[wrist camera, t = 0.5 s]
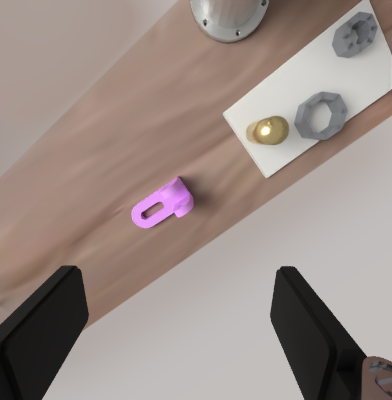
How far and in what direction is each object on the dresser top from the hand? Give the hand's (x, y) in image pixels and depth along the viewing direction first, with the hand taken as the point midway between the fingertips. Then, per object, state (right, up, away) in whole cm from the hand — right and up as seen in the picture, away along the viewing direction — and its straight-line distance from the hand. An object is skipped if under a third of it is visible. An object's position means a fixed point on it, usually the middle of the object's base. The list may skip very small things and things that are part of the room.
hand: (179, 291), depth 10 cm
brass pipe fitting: (+12, +17, +28) cm, 35 cm away
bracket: (-7, +4, +33) cm, 34 cm away
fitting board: (+21, +23, +27) cm, 41 cm away
